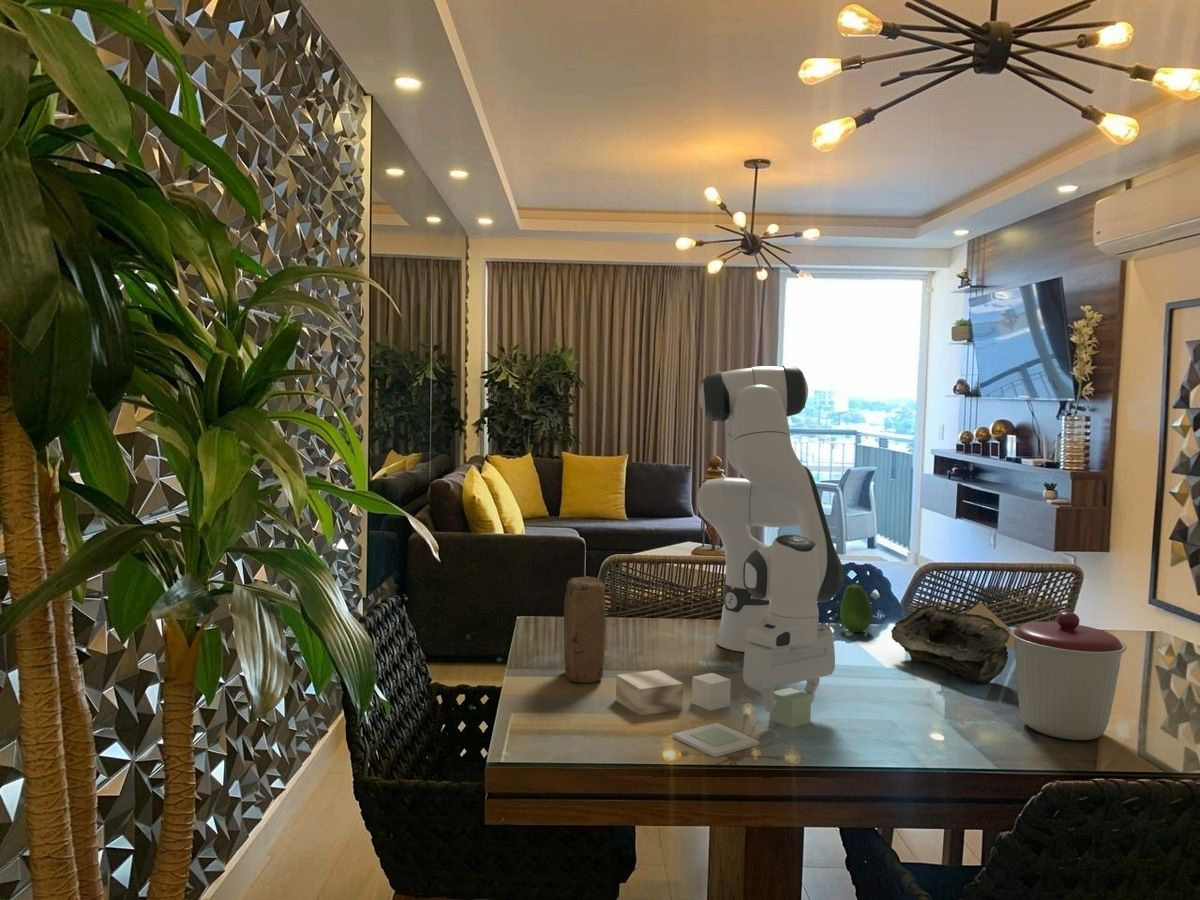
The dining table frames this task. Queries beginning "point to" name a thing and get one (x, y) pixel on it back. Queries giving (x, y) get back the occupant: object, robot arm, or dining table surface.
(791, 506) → the robot arm
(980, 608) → the model pyramid
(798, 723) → the sage cube
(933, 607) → the hollow geode rock
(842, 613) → the avocado
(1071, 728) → the canister
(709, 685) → the offwhite cube
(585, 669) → the block
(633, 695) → the base block
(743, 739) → the card
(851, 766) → the dining table surface
